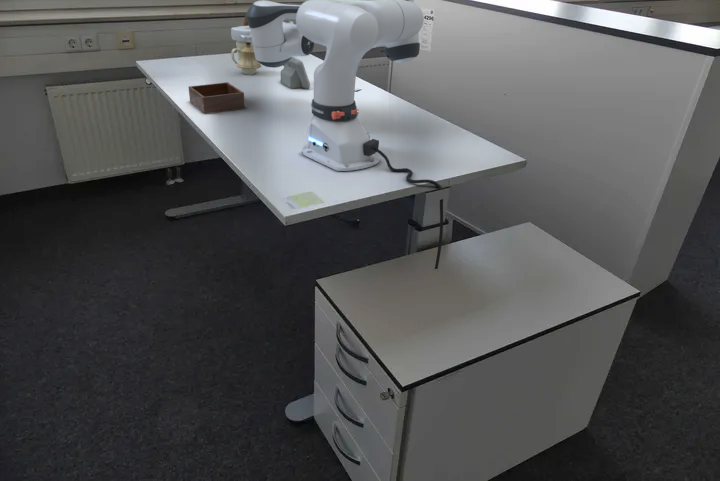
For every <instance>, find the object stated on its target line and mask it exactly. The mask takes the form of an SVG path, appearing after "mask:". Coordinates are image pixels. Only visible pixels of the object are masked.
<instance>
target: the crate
mask: <svg viewBox="0 0 720 481" xmlns="http://www.w3.org/2000/svg"><path fill="white" fill-rule="evenodd" d="M188 96H189V102H190V104H192V105H193V106H194V107H195V108H197V109H198V110H199V111H200V112H201V113H203V114H204V115H206V114H215V113H221V112H228V111H235V110H236V111H237V110H243V109H246V105H245V92H244V91H242V90H240V89H239V88H238V87H236V86H234V85H233V84H231V83H230V82H228V81H226V82H216V83H209V84H198V85H189V86H188Z"/></svg>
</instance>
